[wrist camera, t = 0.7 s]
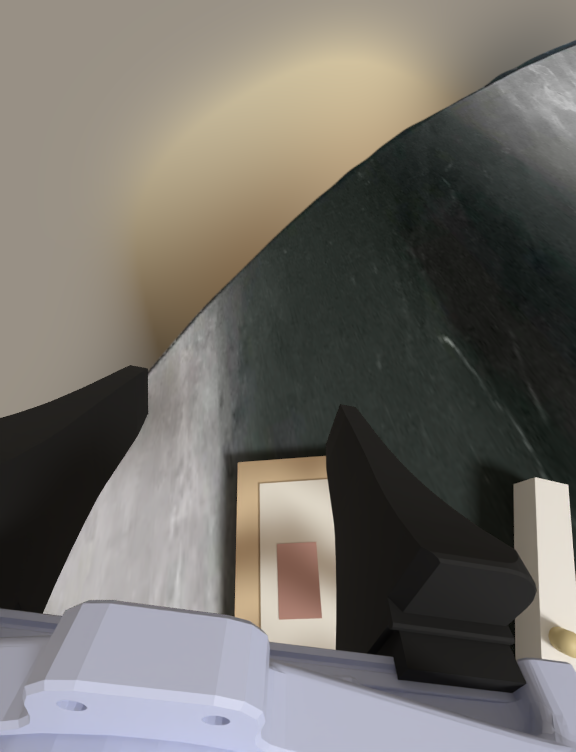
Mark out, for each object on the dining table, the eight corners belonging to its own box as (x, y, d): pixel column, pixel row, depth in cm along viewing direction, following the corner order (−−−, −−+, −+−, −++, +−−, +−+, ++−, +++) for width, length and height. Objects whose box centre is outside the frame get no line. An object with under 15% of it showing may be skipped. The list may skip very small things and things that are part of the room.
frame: (392, 674, 22) (399, 690, 20) (242, 677, 23) (232, 693, 20) (361, 459, 28) (364, 452, 26) (244, 468, 29) (237, 461, 27)
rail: (558, 833, 18) (615, 905, 14) (517, 816, 18) (562, 881, 15) (542, 491, 25) (577, 482, 22) (513, 484, 26) (543, 474, 22)
